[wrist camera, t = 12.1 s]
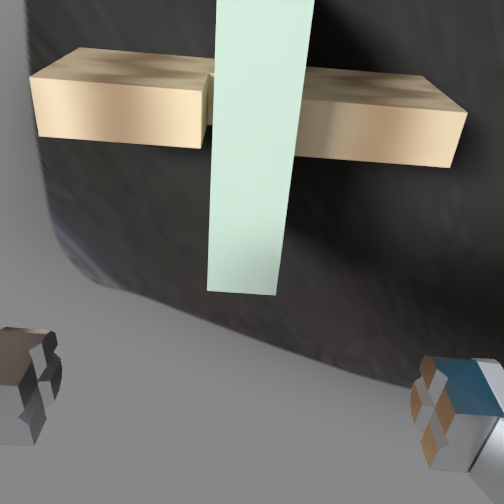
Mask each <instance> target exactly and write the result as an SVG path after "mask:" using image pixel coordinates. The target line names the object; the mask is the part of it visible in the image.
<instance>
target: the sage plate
mask: <svg viewBox="0 0 504 504" xmlns="http://www.w3.org/2000/svg"><path fill="white" fill-rule="evenodd" d="M313 8H314V0H217V11H216V41H215V72H214V102H213V132H212V162H211V192H210V222H209V252H208V282H207V291H219V292H234V293H249V294H264V295H276V289H277V281H278V273H279V266H280V258H281V251H282V243H283V236H284V228H285V220H286V213H287V205H288V198H289V190H290V182H291V175H292V167H293V160H294V152H295V145H296V137H297V129H298V122H299V114H300V107H301V99H302V91H303V84H304V76H305V69H306V61H307V54H308V46H309V38H310V31H311V23H312V16H313Z"/></svg>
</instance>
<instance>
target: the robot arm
mask: <svg viewBox="0 0 504 504" xmlns="http://www.w3.org/2000/svg"><path fill="white" fill-rule="evenodd" d="M57 345H58V343H57V339H56V335H55V333H54V332H53V331H49V330H38V329H27V328H15V327H0V445H17V446H34V445H35V443H36V441H37V439H38V437H39V435H40V433H41V430H42V428H43V426H44V424H45V422H46V419H47V418H46V414H45V408H46V407H48V406H49V405H51V404H52V403H53V402H54V401H55V399H56V397H57V395H58V392H59V389H60V385H61V380H62V363H61V359H60V358H59V357H58V356H57V355H56V354H55V353H54V350H55V349H56V347H57ZM420 370H421V373H422V377H421V378H419V379H418V380H416V381H415V382H414V384H413V387H412V390H411V397H410V407H411V414H412V417H413V421H414V424H415V425H416V426H417V427H418V428H419V429H420V430H421V431H422V432H423V433H424V434H423V436H422V439H421V441H420V443H421V446H422V449H423V452H424V455H425V458H426V461H427V464H428V467H429V469H430V470H440V471H450V472H462V473H469V476H470V477H471V479H473V481H474V482H475V483H476V484H477V485H478V486H479V487H480V489H481V490H482V491H483V492H484V493H485V494H486V495H487V496H488V498H489V499H490V500H491V501H492V502H493V503H494V504H504V370H503V368H502V366H501V364H500V363H499V362H498V361H496V360H495V359H481V358H471V359H470V358H460V357H443V356H426V357H425V358H424V359H423V361H422V363H421V366H420Z"/></svg>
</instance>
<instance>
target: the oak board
mask: <svg viewBox="0 0 504 504" xmlns="http://www.w3.org/2000/svg"><path fill="white" fill-rule="evenodd" d="M214 72H215V59H211V58H199V57H187V56H175V55H164V54H152V53H140V52H128V51H116V50H104V49H92V48H78V49H77V50H75V51H73V52H71V53H70V54H68V55H66V56H65V57H63V58H61V59H59V60H58V61H56V62H54V63H53V64H51V65H49V66H47V67H46V68H44V69H42V70H41V71H39V72H37V73H35V74H34V75H32V76H30V77H29V79H30V85H31V91H32V97H33V103H34V108H35V114H36V120H37V126H38V132H39V136H44V137H57V138H70V139H83V140H96V141H109V142H122V143H135V144H147V145H160V146H173V147H186V148H199V149H201V146H202V142H203V139H204V135H205V131H206V128H207V125H213V102H214ZM466 116H467V112H466V111H465V110H464V109H462V108H461V107H460V106H459V105H457V104H456V103H455V102H454V101H452V100H451V99H450V98H449V97H447V96H446V95H445V94H444V93H442V92H441V91H440V90H439V89H437V88H436V87H435V86H434V85H432V84H431V83H430V82H429V81H427V80H426V79H425V78H424V77H423V76H415V75H403V74H391V73H379V72H367V71H355V70H343V69H331V68H319V67H307V66H306V69H305V76H304V84H303V91H302V99H301V107H300V114H299V122H298V129H297V137H296V145H295V152H294V156H303V157H316V158H329V159H342V160H355V161H368V162H381V163H394V164H407V165H419V166H432V167H445V168H450V166H451V163H452V160H453V157H454V153H455V150H456V147H457V144H458V141H459V138H460V135H461V132H462V129H463V126H464V123H465V119H466Z"/></svg>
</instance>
